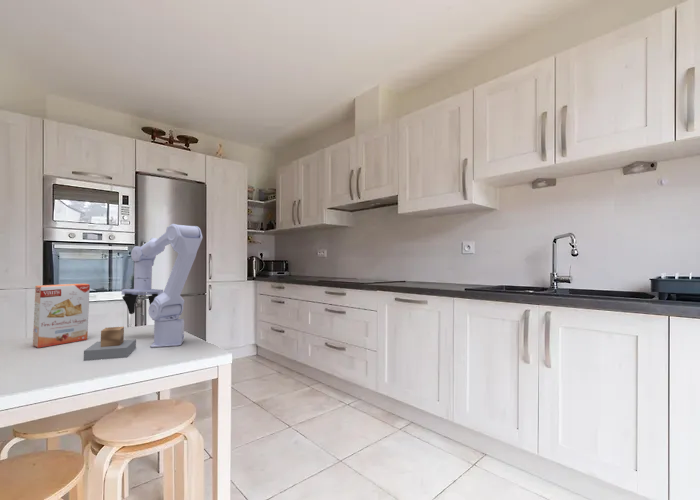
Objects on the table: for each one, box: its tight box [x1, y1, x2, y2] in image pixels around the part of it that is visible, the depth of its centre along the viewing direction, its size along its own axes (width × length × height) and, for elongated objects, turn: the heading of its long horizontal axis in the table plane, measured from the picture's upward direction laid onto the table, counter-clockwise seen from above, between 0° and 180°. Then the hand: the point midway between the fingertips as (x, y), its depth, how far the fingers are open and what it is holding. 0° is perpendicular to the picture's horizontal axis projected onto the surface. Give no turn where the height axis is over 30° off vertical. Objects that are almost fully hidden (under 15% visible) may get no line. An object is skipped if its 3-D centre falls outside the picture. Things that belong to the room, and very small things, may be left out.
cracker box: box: [32, 283, 91, 349], centre depth 117 cm, size 14×6×21 cm, turn 148°
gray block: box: [83, 338, 137, 362], centre depth 105 cm, size 11×11×4 cm
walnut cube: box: [100, 326, 125, 347], centre depth 106 cm, size 5×5×5 cm
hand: (142, 313), depth 125 cm, fingers open, 7 cm apart
